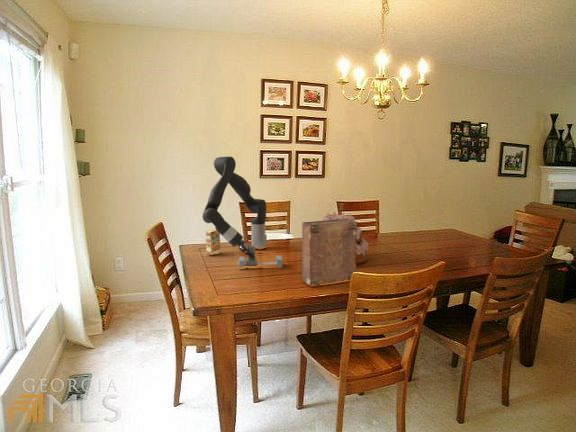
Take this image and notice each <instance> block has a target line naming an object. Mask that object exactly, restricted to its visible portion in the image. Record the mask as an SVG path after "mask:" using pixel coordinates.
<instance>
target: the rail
mask: <svg viewBox="0 0 576 432" xmlns="http://www.w3.org/2000/svg"><path fill="white" fill-rule="evenodd" d="M237 261H238V262H237V264H238V268H239V267H244V266H245V265H246V257H245V256H239V257H238V260H237ZM276 264H277V267H281V266H282V267H283V264H284V261H283V258H282V255H275V261H273V262H270V261H269V262H257V265H276Z"/></svg>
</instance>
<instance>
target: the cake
mask: <svg viewBox="0 0 576 432" xmlns="http://www.w3.org/2000/svg"><path fill="white" fill-rule="evenodd" d="M338 219H347V221H350V222H356V218H355V216H353V215H352V214H351V213H349V214H345V212H344V211H343V212H342V214H341V213H340V214H336V212H335V211H334V212H333V214H330V213H329V212H327V215H325V216H323V217H322V221H326V220H338ZM368 249H369V243H368V241H366V240H365V238H364V237H362V228H360V227H359V226H357V243H356V265H357V264H361V265H363V264H362V263H364V262H365V263H366V262H367V261H368V251H369V250H368ZM365 263H364V264H365ZM357 266H358V265H357Z"/></svg>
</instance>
